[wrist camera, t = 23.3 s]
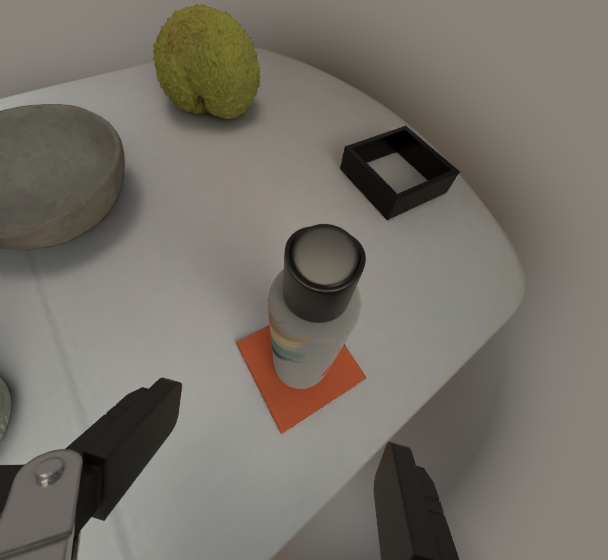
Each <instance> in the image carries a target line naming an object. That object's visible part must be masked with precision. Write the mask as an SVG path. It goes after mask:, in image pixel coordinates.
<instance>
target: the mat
mask: <svg viewBox="0 0 608 560" xmlns="http://www.w3.org/2000/svg"><path fill="white" fill-rule="evenodd" d="M236 344H237V346H238V348H239V350H240V352H241V354H242V356H243V358H244V360H245V362H246V364H247V366H248V368H249V370H250V372H251V374H252V376H253V378H254V380H255V382H256V384H257V386H258V388H259V390H260V392H261V394H262V396H263V398H264V400H265V402H266V404H267V406H268V408H269V410H270V412H271V414H272V416H273V418H274V420H275V422H276V424H277V426H278V428H279V430H280V432H281V434H282V433H283V432H285V431H286V430H288V429H289V428H291V427H292V426H294V425H296V424H297V423H299V422H300V421H302V420H303V419H305V418H306V417H308V416H309V415H311V414H312V413H314V412H315V411H317V410H318V409H320V408H321V407H323V406H324V405H326V404H327V403H329V402H330V401H332V400H334V399H335V398H337V397H338V396H340V395H341V394H343V393H344V392H346V391H347V390H349V389H350V388H352V387H353V386H355V385H356V384H358V383H359V382H361V381H362V380H364V379H365V378H366V376H365V375H364V373H363V372H362V370H361V369H360V367H359V366H358V364H357V363H356V361H355V360H354V358H353V357H352V355H351V354H350V352H349V351H348V349H347V348H346V346H345V345H343V347H342V348H341V350H340V351H339V353H338V355H337V356H336V358H335V360H334V361H333V363H332V365H331V366H330V368H329V370H328V371H327V373H326V374H325V376H324V377H323V378H322V380H321V381H320V382H319V383H317V384H316V385H314V386H312V387H310V388H306V389H296V388H292V387H290V386H288V385H286V384H285V383H284V382H283V381H281V379H280V378H279V377H278V375H277V373H276V371H275V368H274V363H273V354H272V343H271V332H270V325H269V326H267V327H265V328H263V329H261V330H259V331H257V332H256V333H254V334H252V335H250V336H248V337H246V338H244V339H242V340H240V341H238V342H236Z"/></svg>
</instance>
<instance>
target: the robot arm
mask: <svg viewBox="0 0 608 560" xmlns="http://www.w3.org/2000/svg"><path fill="white" fill-rule="evenodd" d="M181 391H182V384H181V383H180V382H177V381H173V380H170V379H166V378H160V379H159V380H158V381H156V382H155V383H154V384H153V385H152V386H151V387H150V388H149V389H147V388H144V387H142V388H140V389H138V390H136V391H134V392H131V393H129V394H128V395H126V396H125V397H124V398H123V399H122V400H121V401H120V402H118V403H117V404H116V406H114V407H113V408H111V409H110V410H109V411H108V412H107V414H106V415H103V416H102V417H101V418H100V419H99V420H98V421H97V422H95V423H94V424H93V425H92V426H91V427H90V428H89V429H87V430H86V431H85V432H84V433H83V434H82V435H81V436H79V437H78V438H77V439H76V440H75V441H74V442H73V443H71V444H70V445H69V446H68V447H67V448H65V449H59V450H54V451H50V452H47V453H44V454H42V455H39V456H37V457H36V458H34V459H32V460H31V461H29V462H28V463H27V464H26V465H0V560H78V552H79V544H80V536H81V529H82V528H83V527H84V526H85V524H86V523H87V522H88V521H89V519H90V518H91V517H94V518H97V519H100V520H103V521H104V520H105V519H106V518H107V516H108V515H109V514H110V512H111V511H112V510H113V509H114V507H115V506H116V505H117V503H118V502H119V501H120V499H121V498H122V497H123V495H124V494H125V493H126V491H127V490H128V489H129V487H130V486H131V485H132V483H133V482H134V481H135V480H136V478H137V477H138V476H139V474H140V473H141V472H142V470H143V469H144V468H145V466H146V465H147V464H148V462H149V461H150V460H151V458H152V457H153V456H154V455H155V453H156V452H157V451H158V449H159V448H160V447H161V445H162V444H163V443H164V441H165V440H166V439H167V437H168V436H169V435H170V433H171V432H172V430H173V429H174V427H175V424H176V422H177V419H178V414H179V406H180V398H181ZM374 499H375V507H376V517H377V526H378V535H379V545H380V554H381V560H459V557H458V554H457V551H456V548H455V545H454V542H453V540H452V536H451V533H450V530H449V527H448V524H447V521H446V518H445V516H444V515H443V509H442V506H441V503H440V502H439V497H438V494H437V491H436V488H435V485H434V483H433V481H432V479H431V478H430V477H429V475H428V474H427V472H426V471H425V469H424V468H422V467H419V466H416V465H415V461H414V458H413V454H412V451H411V449H410V448H409V447H406V446H402V445H398V444H395V443H391V442H388V443H387V445H386V447H385V450H384V453H383V456H382V458H381V461H380V464H379V466H378V469H377V472H376V475H375V480H374Z"/></svg>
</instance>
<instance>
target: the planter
mask: <svg viewBox="0 0 608 560" xmlns="http://www.w3.org/2000/svg"><path fill="white" fill-rule="evenodd" d="M10 413H11V397H10V393H9V390H8V387H7V386H6V384H5V382H4V381H3V380H2V378H1V377H0V441H1V439H2V437H3V435H4V433H5V431H6V428H7V425H8V422H9V418H10Z"/></svg>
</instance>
